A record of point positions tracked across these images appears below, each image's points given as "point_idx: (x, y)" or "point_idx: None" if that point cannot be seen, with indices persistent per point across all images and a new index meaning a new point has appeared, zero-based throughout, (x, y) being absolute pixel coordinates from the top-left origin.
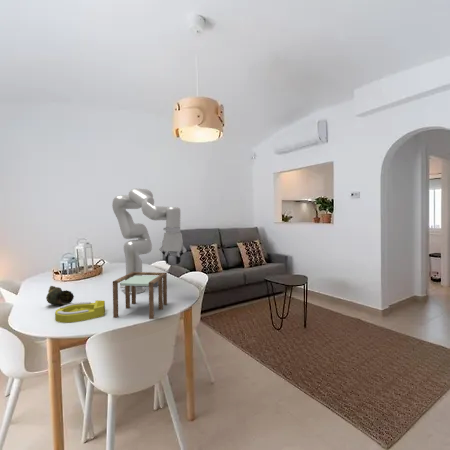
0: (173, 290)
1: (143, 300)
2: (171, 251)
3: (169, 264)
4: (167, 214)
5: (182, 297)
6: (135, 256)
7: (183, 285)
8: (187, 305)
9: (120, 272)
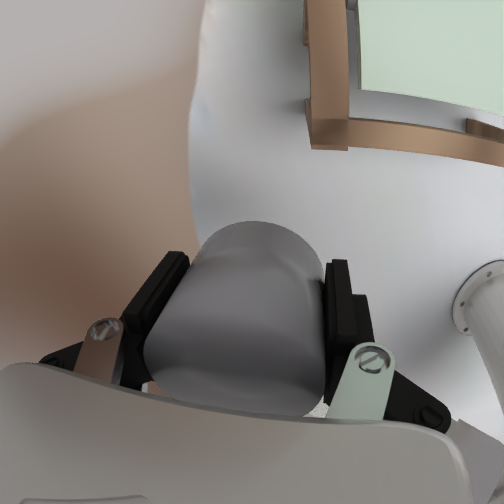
0: None
1: (442, 172)
2: (189, 403)
3: (287, 234)
4: None
5: None
6: None
7: None
8: (190, 110)
9: (496, 435)
